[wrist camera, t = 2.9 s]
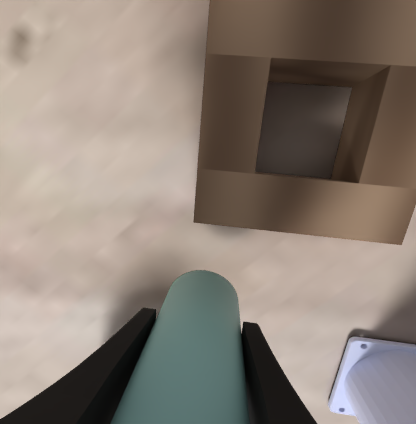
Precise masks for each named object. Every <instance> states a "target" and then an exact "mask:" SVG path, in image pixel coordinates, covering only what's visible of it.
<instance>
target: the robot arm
mask: <svg viewBox="0 0 416 424" xmlns="http://www.w3.org/2000/svg"><path fill="white" fill-rule="evenodd" d="M155 321H156V309H149V308H143V309H141V310H140V311H139V312H138V313H137V314H136V315H135V316H134V317H133V318H132V319H131V320H130V321H129V322H128V323H127V324H125V325H124V326H123V327H122V328H121V329H120V330H119V331H118V332H117V333H116V334H115V335H113V336H112V337H111V338H110V339H109V340H108V341H107V342H106V343H105V344H103V345H102V346H101V347H100V348H99V349H97V350H96V351H95V352H94V353H93V354H91V355H90V356H89V357H88V358H87V359H85V360H84V361H83V362H82V363H80V364H79V365H78V366H77V367H75V368H74V369H73V370H71V371H70V372H69V373H68V374H66V375H65V376H64V377H62V378H61V379H59V380H58V381H57V382H55V383H54V384H53V385H51V386H50V387H48V388H47V389H45V390H44V391H43V392H41V393H40V394H38V395H37V396H35V397H34V398H32V399H31V400H29V401H28V402H26V403H25V404H23V405H22V406H20V407H19V408H17V409H16V410H14V411H13V412H11V413H10V414H8V415H6V416H5V417H3V418H1V419H0V424H110V423H111V421H112V419H113V416H114V414H115V412H116V410H117V407H118V405H119V403H120V401H121V398H122V396H123V394H124V391H125V389H126V387H127V385H128V382H129V380H130V378H131V376H132V373H133V371H134V369H135V366H136V364H137V362H138V360H139V357H140V355H141V353H142V350H143V348H144V346H145V344H146V341H147V339H148V337H149V335H150V332H151V330H152V328H153V325H154V323H155ZM241 336H242V346H243V357H244V368H245V378H246V389H247V400H248V411H249V421H250V424H317V422H316V421H315V420H314V418H313V417H312V415H311V414H310V413H309V411H308V410H307V408H306V407H305V405H304V404H303V402H302V401H301V399H300V398H299V396H298V395H297V393H296V391H295V390H294V388H293V387H292V385H291V384H290V382H289V380H288V379H287V377H286V375H285V374H284V372H283V370H282V369H281V367H280V365H279V363H278V362H277V360H276V358H275V356H274V355H273V353H272V351H271V349H270V347H269V345H268V343H267V341H266V339H265V337H264V335H263V333H262V331H261V329H260V327H259V325H258V324H257V323H250V322H243V328H242V334H241ZM361 344H362V345H361ZM328 406H329V408H330V410H331V411H332V412H334V413H339V414H346V415H352V416H356V417H357V419H358V421H359V423H360V424H416V345H415V344H407V343H400V342H392V341H385V340H377V339H370V338H363V337H351V338H350V339H349V341H348V343H347V347H346V350H345V353H344V356H343V359H342V362H341V365H340V368H339V372H338V375H337V378H336V381H335V384H334V387H333V390H332V393H331V396H330V400H329V403H328Z"/></svg>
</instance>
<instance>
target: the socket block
mask: <svg viewBox="0 0 416 424" xmlns="http://www.w3.org/2000/svg"><path fill="white" fill-rule="evenodd" d="M268 82H283V83H298V84H313V85H327V86H342V87H352V91H351V96H350V100H349V104H348V108H347V113H346V117H345V121H344V125H343V129H342V134H341V138H340V142H339V146H338V151H337V155H336V159H335V163H334V168H333V172H332V176H331V179H327V178H317V177H306V176H295V175H284V174H273V173H263V172H255V167H256V160H257V153H258V146H259V139H260V132H261V125H262V118H263V111H264V104H265V97H266V90H267V83H268ZM415 205H416V0H210V5H209V18H208V32H207V46H206V59H205V73H204V86H203V100H202V114H201V127H200V141H199V155H198V168H197V182H196V196H195V209H194V223H204V224H213V225H222V226H231V227H240V228H250V229H259V230H268V231H277V232H286V233H296V234H305V235H314V236H323V237H332V238H342V239H351V240H360V241H369V242H378V243H388V244H397V245H402V242H403V240H404V237H405V234H406V231H407V228H408V225H409V222H410V220H411V217H412V214H413V211H414V208H415Z"/></svg>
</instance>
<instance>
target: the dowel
mask: <svg viewBox="0 0 416 424" xmlns="http://www.w3.org/2000/svg"><path fill="white" fill-rule="evenodd" d="M110 424H250V421H249V411H248V400H247V389H246V378H245V368H244V357H243V346H242V336H241V325H240V314H239V304H238V297H237V293H236V291H235V289H234V287H233V286H232V285H231V283H230V282H229V281H228V280H226V279H225V278H224V277H222V276H221V275H219V274H216V273H214V272H210V271H205V270H196V271H191V272H188V273H185V274H183V275H181V276H180V277H178V278H177V279H176V280H175V281H174V282H173V284H172V285H171V287H170V289H169V291H168V294H167V296H166V298H165V300H164V303H163V305H162V307H161V310H160V312H159V314H158V316H157V319H156V321H155V323H154V325H153V328H152V330H151V332H150V335H149V337H148V339H147V341H146V344H145V346H144V348H143V350H142V353H141V355H140V357H139V360H138V362H137V364H136V366H135V369H134V371H133V373H132V376H131V378H130V380H129V382H128V385H127V387H126V389H125V391H124V394H123V396H122V398H121V401H120V403H119V405H118V407H117V410H116V412H115V414H114V416H113V419H112V421H111V423H110Z"/></svg>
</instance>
